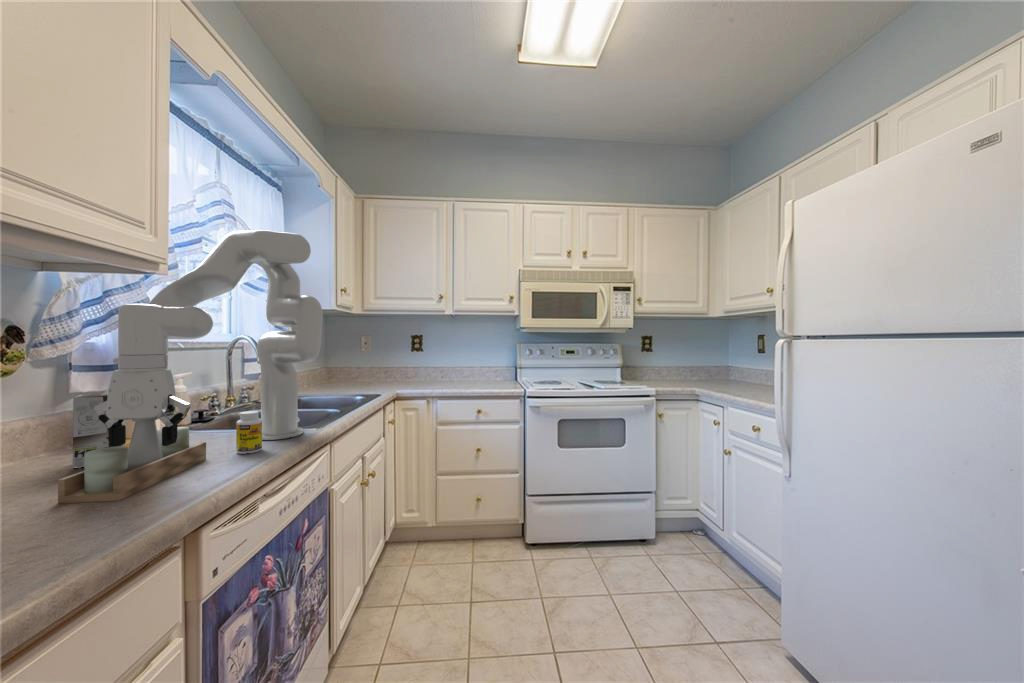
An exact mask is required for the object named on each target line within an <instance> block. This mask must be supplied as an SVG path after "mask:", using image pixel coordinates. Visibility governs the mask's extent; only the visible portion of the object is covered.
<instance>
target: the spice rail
mask: <svg viewBox="0 0 1024 683" xmlns="http://www.w3.org/2000/svg"><path fill="white" fill-rule="evenodd" d="M157 432H158V437H159V442H160V447H161V451H162V455H163V458H161V459H158V460H156V461H153V462H151V463H148V464H146V465H143V466H141V467H138V468H136V469H133V470H131V471H129V470H128V449H129V446H126V445H125V446H118V447H107V448H101V449H96V450H92V451H88V452H86V453H85V454H84V468H83V469H84V470H82V471H79V472H76V473H73V474H71V475H67V476H65V477H62V478H59V479H57V504H72V503H74V504H75V503H76V504H77V503H95V502H96V503H97V502H117V501H118V502H119V501H122V500H123V499H126V498H128V497H130V496H132V495H134V494H136V493H138V491H139V492H140V491H143V490H145V489H148V488H149V487H151V486H153V485H155V484H157V483H160V482H162V481H164V480H166V479H168V478H170V477H173V476H174V475H176V474H179V473H181V472H183V471H185V470H187V469H189V468H191V467H193V466H195V465H194V464H196V463H198V462H200V463H202V462H204V461H206V460H207V442H206V441H202V442H199V443H197V444H193V445H191V446H190V427H189V426H177V439H176V443H173V444H171V445H168V446H163V445H162V428H161V429H159V430H158V429H157ZM205 459H206V460H205ZM203 460H204V461H203ZM201 461H202V462H201ZM198 464H199V463H198ZM192 465H193V466H192ZM196 465H197V464H196ZM190 466H191V467H190ZM188 467H189V468H188ZM186 468H187V469H186ZM184 469H185V470H184ZM180 471H181V472H180Z"/></svg>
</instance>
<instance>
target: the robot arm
mask: <svg viewBox="0 0 1024 683" xmlns="http://www.w3.org/2000/svg"><path fill="white" fill-rule="evenodd" d="M311 253H312V252H311V246H310V243H309V241H308V239H306V238H305V237H304V236H303V235H301V234H298V233H294V232H284V231H283V232H282V231H274V230H266V229H255V230H253V229H252V230H250V229H249V230H236V231H231V232H229V233H227V234H225V235H224V236H223V238H221V240H220V241H219V242H218V243H217V244H216V245H215V246H214V247H213V249H212V250H211V251H210V252H209V253H208V255H207V256H206V257H205V258H204V260H203V261H202V262H201V263H199V265H198V266H197V267H196V268H195V269H193V270H190V271H189V272H188V273H186V274H184V275H183V276H181V277H180V278H178V279H176V280H174V281H172V282H171V283H169V284H167V286H164V288H162V289H161V290H159V291H158V292H157V293H156V295H155V296H154V297H153V298H152V299H151V300H150V301H149V303H126V304H125V303H124V304H122V305H121V306H120V307H119V308H118V313H117V322H118V323H117V324H118V325H117V328H118V329H117V337H118V338H117V347H118V348H117V357H114V358H113V360H112V363H113V364H114V365H117V369H116V370H113V372H112V374H111V377H110V380H109V385H108V391H107V392H108V397H107V401H105V402H103V403H101V404H99V405H97V406H95V407H94V410H95V411H96V413H97V415H99V420H100V421H102V422H103V423H104V424H105V425H104V426H105V428H109V436H108V440H109V447H117V446H120V445H123V444H125V445H126V443H127V441H126V440H127V434H126V429H127V427H126V424H125V425H122V424H123V422H124V421H125V422H126V420H129V421H130V420H132V419H154V418H159V419H158V420H160V421H161V422H162V423H163V425H165V426H162V428H161V429H162V445H163V446H168V445H171V444H173V443H176V439H177V427H178V425H180V424H181V423H182V421H183V420H184V419H185V418H186V417H187V415H188V413H189V411H190V409H191V407H192V404H191V403H189V402H187V401H185V400H182V399H181V398H178V397H176V387H175V381H174V376H173V372H172V370H171V369H169V367H168V366H169V363H168V362H169V356H168V355H169V340H197V339H200V338H203V337H206V336H207V335H208V334H209V333H210V332H211V331H212V330H213V326H214V322H213V318H212V316H211V315H210V314H209V312H207V311H205V310H204V309H202V308H199V307H196V306H197V305H199V304H201V303H203V302H204V301H208V300H209V299H213V298H215V297H219V296H221V295H223V294H227V293H229V292H231V291H232V290H234V289H235V288H236V287H237V285H238V283H239V282H240V281H241V280H242V278H243V277H244V275H245V274H246V273H247V272H248V270H249V268H250V267H251V266H252V265H253V264H259V265H260V266H261V268H262V269H263V271H264V272H265V274H266V278H267V293H266V294H267V296H266V305H265V306H266V308H265V314H266V320H267V322H268V323H269V324H270V325H272V326H275V327H282V328H283V327H286V328H287V327H288V328H289V327H290V328H291V327H293V328H295V329H296V330H274V331H269V332H266V333H264V334H263V335H261V336H260V337H259V339H258V340H257V345H256V349H257V356H258V360H259V365H260V376H261V377H260V419H262V441H275V440H276V441H277V440H283V439H289V438H290V437H291V438H295V437H298V436H300V435H302V434H303V433H304V428H302V427H299V426H298V423H299V422H300V421H301V419H300V417H299V415H298V412H299V411H298V396H299V395H298V393H299V392H298V389H299V388H298V386H299V385H298V382H299V379H298V378H299V376H298V372H297V370H296V368H295V366H294V364H302V363H303V364H305V363H311V362H314V361H315V360H316V359H317V358H318V356H319V354H320V351H321V346H322V333H323V322H324V321H323V320H324V319H323V317H324V316H323V314H324V313H323V308H322V305H321V303H320V301H319V300H318V299H317V298H316V297H314V296H312V295H305V294H302V295H301V280H300V277H299V275H298V273H297V272H296V271H295V269H294V268H293V267H292V265H291V264H302V263H305V262H306V261H308V259H309V258H310V256H311ZM176 408H177V409H178V410H177V411H178V412H177V413H175V412H176Z"/></svg>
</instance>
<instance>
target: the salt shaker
mask: <svg viewBox="0 0 1024 683" xmlns="http://www.w3.org/2000/svg"><path fill="white" fill-rule="evenodd" d="M156 420H160V419H159V418H154V419H131V421H132V422H135V423H134V426H133V430H132V432H131V438H130V441H129V445H128V470H129V471H131V470H133V469H136V468H138V467H141V466H143V465H146V464H148V463H151V462H153V461H156V460H158V459H161V458H163V455H162V451H161V447H160V442H159V437H158V432H157V431H158V428H157V427H158V426H157V423H156Z"/></svg>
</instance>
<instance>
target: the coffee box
mask: <svg viewBox="0 0 1024 683" xmlns="http://www.w3.org/2000/svg"><path fill="white" fill-rule="evenodd" d="M107 397H108V391H107V392H98V393H97V392H96V393H95V392H94V393H88V394H83V395H80V396H75V397H73V402H72V406H73V407H72V469H73V468H75V467H84V454H85V453H86V452H88V451H92V450H96V449H101V448H107V447H109V440H108V436H109V428H105V426H104V425H105V424H104V423H103V422H102V421H100V420H99V415H97V413H96V411H95V410H94V407H95V406H97V405H99V404H101V403H103V402H105V401H107ZM125 422H126V420H125V421H124V422H123V424H122V425H125V426H126V424H125ZM120 446H125V447H126V443H125V444H123V445H120ZM117 447H118V446H117Z"/></svg>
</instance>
